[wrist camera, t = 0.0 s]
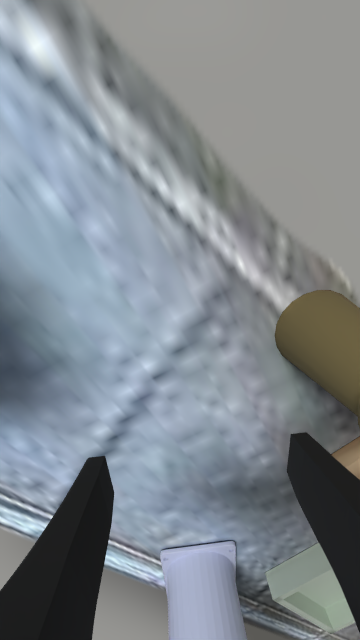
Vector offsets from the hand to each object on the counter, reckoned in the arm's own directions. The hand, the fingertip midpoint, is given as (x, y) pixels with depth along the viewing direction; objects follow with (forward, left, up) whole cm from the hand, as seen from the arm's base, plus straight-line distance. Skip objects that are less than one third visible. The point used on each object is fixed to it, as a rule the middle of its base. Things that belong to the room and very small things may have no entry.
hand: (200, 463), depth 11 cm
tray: (-33, -16, -10) cm, 38 cm away
